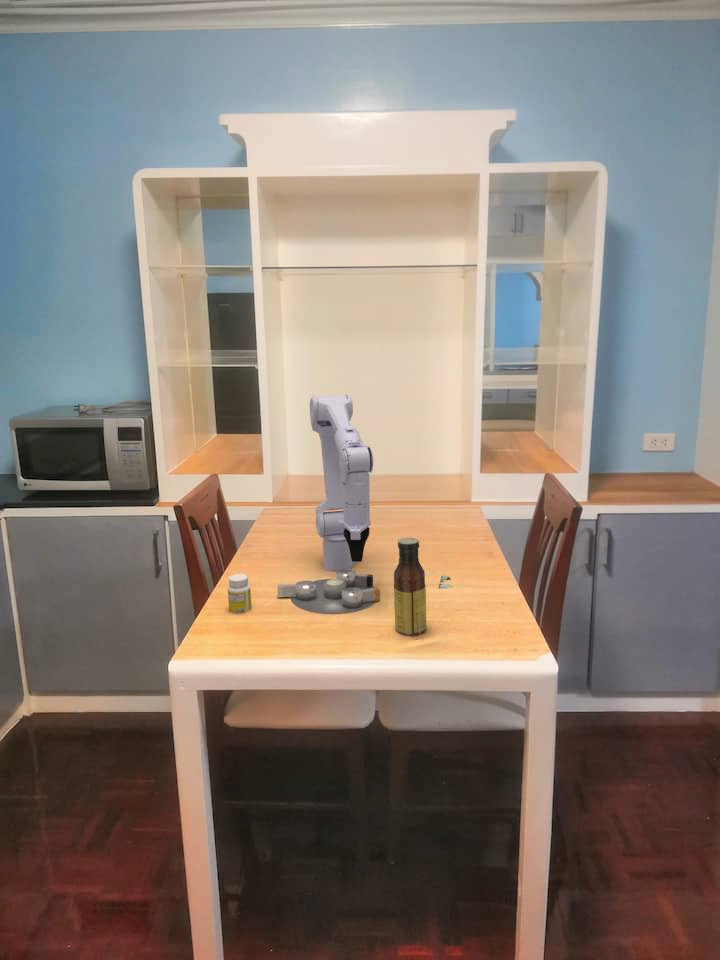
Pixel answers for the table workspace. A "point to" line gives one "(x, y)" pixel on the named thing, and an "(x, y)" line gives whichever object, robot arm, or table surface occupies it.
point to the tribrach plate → (327, 603)
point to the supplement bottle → (239, 594)
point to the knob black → (355, 578)
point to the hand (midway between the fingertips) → (356, 560)
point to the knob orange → (359, 596)
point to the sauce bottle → (409, 590)
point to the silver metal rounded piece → (298, 590)
